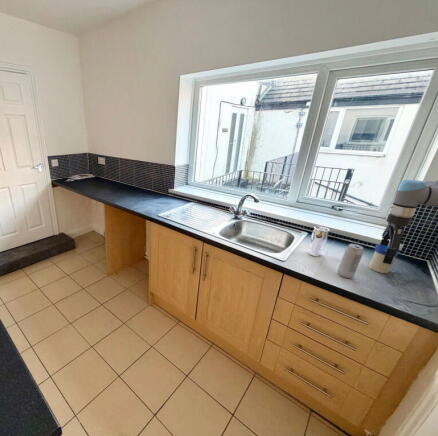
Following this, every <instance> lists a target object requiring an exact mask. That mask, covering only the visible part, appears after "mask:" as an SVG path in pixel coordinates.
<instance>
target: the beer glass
mask: <svg viewBox="0 0 438 436" xmlns="http://www.w3.org/2000/svg"><path fill="white" fill-rule="evenodd" d="M330 230H331V229H329V228H328V227H326V226H324V225H323V226H321V225H315V226H314V228H313V230H312V233H311V235H310V245H309V248H308V250H307V253H308V254H309V255H310V256H313V257H321V256H322V250H323V248H324V246H325V244H326V243H327V240H328V238H329V235H330Z"/></svg>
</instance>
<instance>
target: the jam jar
mask: <svg viewBox="0 0 438 436" xmlns="http://www.w3.org/2000/svg"><path fill="white" fill-rule="evenodd" d="M384 257H385V255H382V254H380V253H377V252H376V251H375V250H374V252H373V254H372V257H371V260H370V262H369V265H368V268H369V269H371V270H373V271H374V272H377V273H381V274H389V273H390V271H391V268H392V266H393V263H394V261H395V259H396V256H395V257H394V258H393V261H392V263H391V264H386V263H383V260H384Z"/></svg>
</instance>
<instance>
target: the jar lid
mask: <svg viewBox="0 0 438 436" xmlns="http://www.w3.org/2000/svg"><path fill="white" fill-rule="evenodd" d="M387 248H388V249H389V245H388V246H386V245H380V244H376V245H375V247H374V249H373V250H374V252H375V251H376V252H377V253H380V254H382V255H385V254H386V252H387V250H386V249H387ZM393 249H395V248H393ZM398 255H399V252H396V253H395V256H394V257H395V258H396V257H398Z"/></svg>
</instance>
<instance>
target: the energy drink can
mask: <svg viewBox="0 0 438 436" xmlns="http://www.w3.org/2000/svg"><path fill="white" fill-rule="evenodd" d="M364 252H365V251H364V247H363V246H362V245H360V244H356V243H349V244H348V246H346V247H345V250H344V253H343V256H342V258H341V261H340V263H339V266H338V269H337V273H338V275H339V276H341V277H343V278H346V279H352V278H353V277H355V274H356V272H357V269H358V268H359V265H360V262H361V260H362V257H363V255H364Z"/></svg>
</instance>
